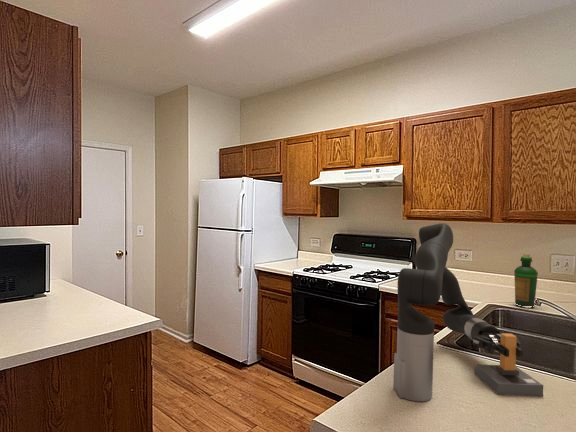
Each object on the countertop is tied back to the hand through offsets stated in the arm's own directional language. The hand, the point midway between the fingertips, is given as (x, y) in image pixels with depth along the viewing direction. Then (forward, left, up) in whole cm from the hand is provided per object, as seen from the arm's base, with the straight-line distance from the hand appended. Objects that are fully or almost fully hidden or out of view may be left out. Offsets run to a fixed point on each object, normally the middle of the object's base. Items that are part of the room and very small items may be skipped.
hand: (514, 353), depth 101 cm
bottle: (+64, +94, -10) cm, 114 cm away
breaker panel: (0, +3, -10) cm, 10 cm away
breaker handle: (0, +3, -7) cm, 7 cm away
